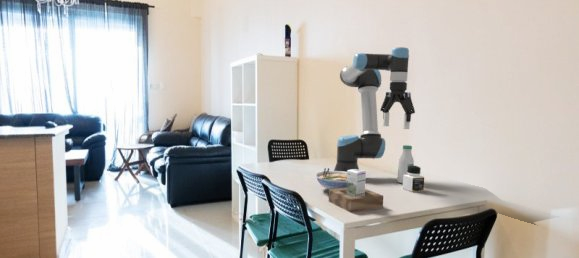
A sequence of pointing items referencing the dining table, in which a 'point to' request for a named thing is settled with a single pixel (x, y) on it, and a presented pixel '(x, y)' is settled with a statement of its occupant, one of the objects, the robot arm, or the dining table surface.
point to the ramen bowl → (332, 179)
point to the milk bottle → (405, 162)
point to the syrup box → (356, 182)
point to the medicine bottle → (413, 179)
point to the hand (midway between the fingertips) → (395, 127)
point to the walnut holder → (355, 200)
